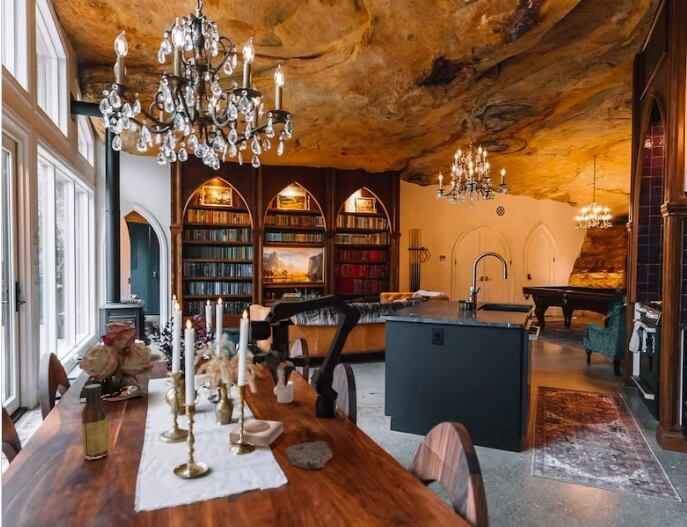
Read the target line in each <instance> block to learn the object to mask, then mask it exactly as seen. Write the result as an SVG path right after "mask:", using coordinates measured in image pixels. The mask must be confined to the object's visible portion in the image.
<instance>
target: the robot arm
mask: <svg viewBox="0 0 687 527" xmlns="http://www.w3.org/2000/svg"><path fill="white" fill-rule="evenodd" d="M327 308H331V309H332V310H333V311H335V312H336V313H337V314H338V318H337V327H336V331H335V333H334V335H333V337H332V340H331V343H330V345H329V348H328V350H327V353H326V355H325V357H324V360H323V362H322V364H321V365H320V367H319V368H318V369H317V368H313V371H312V375H311V376H310V377H309V380H310V387H311V389H312V390H313V391H314V392H316V395H317V397H316V400H315V404H314V405H315V406H314V409H315V417H316V418H317V417H318V418H327V419H328V418H330V419H331V418H335V416H336V415H337V414H338V412H339V410H338V409H337V400H338V397H339V392H337V390H335V389H334V388H333V384H334V378H335V377H334V375H335V374H334V372H335V369H336V367H337V364H338V362H339V359H340V357H341V354H342V352H343V350H344V348H345V346H346V342H347V340H348V338H349V334H350V333H351V332H352V331H353V330H354V329H355V328H356V327H357V325H358V323H359V321H361V317H362V313H361V310H360V309H359V308H358V307H355V306H351V305H349V304H348V303H346V302H344V301H343V300H342V299H341V298H339V297H338V296H337V295H335V294H328V295H325V296H319V297H315V298H308V299H302V300H296V301H295V300H294V301H293V300H292V301H290V300H278V301H274V302H273V303H271V306H270V308H269V309H270V311H269V312H268V314H267V315H266V317H265V318H264V319H262V320H261V319H260V320H258V319H257V320H255V319H253V320H249V326H248V340H249V341H250V342H259V341H268V339H269V338H271V343H270V344H269V350H268V351H267V352H266V353H265V352H258V353H257V354H254V355H253V356H252V359H251V363H253V364H252V365H254V364H256V362H257V363H259V364H260V365H259V366H261V365H262V364H263V363H264V365H263V367H264V368H266V369H267V370H268V371H269V372H270V374H271V377H272V379H273V382H274V384H275V386H276V385H277V383H278V381H279V377H278V376H277V374H278V373H277V368H278V367H280V365H281V364H282V363H283V364H286V365H285V366H283V367H284V370H285V373H284V374H285V376H284V382H285V386H287V384H288V381H290V379H291V376H292V374H293V371H294V370H295V369H294V368H304V367H307V366H308V365H310V362H311V361H310V360H311V357H310V356H309V355H308V354H297V355H295V356H294V357H291V356H292V354H291V352H290V345H291V340H290V327H291V326H295V325H296V323H295V322H294V321H293V320H292V319H291V317H294V316H296V315H298V314H301V313H305V312H311V311H315V310H316V311H317V310H321V309H327Z"/></svg>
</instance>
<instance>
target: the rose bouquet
mask: <svg viewBox="0 0 687 527" xmlns="http://www.w3.org/2000/svg"><path fill="white" fill-rule="evenodd" d="M132 323H133V321H132V320H129V319H126V320H113V321H111V322H110V323H108V324H105V325H103V327H105V329H107V332H108V333H106V334H103V335H101V336H100V338H101V339H102V342H103V344H99V343H98V344H96V345H95V346H93V347H92V348H91V349H90V350H89V351H88V352H87V353H86V354H85V355H84V356H83V357H82V360H80V362H79V365H78V368H79V369H80V370H83V371H84V372H86V374H88V375H89V376H88V378H87V379H86V381H84V384H83V385H84V386H82V387H81V391H80V394H79V400H80V399H81V398H86V393H85V387H86V386H88V385H93V384H100V385H101V396H103V395H106V394H110V395H112V394H114V393H115V392H120V389H122V388H123V387H126V386H136V387H138V388H131V389H129V390H127V391H129V392H131V393H132V394H128V393H125V394H127V395H122V396H118V397H113V396H112V397H113V398H121V399H122V401H125V400H127V399H131V398H134V397H138V396H139V397H142V398H146V397H147V396H148V395H149V393H148V392H147V391H146V390H147V389H148V386H146V387H144V388H143V387H140V385H141V384H140V383H139V380H138V378H137V377H136V376H145V375H148V373H150V372H152V371H154V366H155V365H154V361H150V360H151V358H152V356H151V355H152V349H151V348H150V347H148V346H146V345H145V344H144V343H141V342H136V340H137V337H138V333H137V330H136V326H135V325H131V324H132ZM134 380H135V381H134ZM123 389H124V388H123ZM145 396H146V397H145Z"/></svg>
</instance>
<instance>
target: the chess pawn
mask: <svg viewBox="0 0 687 527" xmlns="http://www.w3.org/2000/svg"><path fill="white" fill-rule="evenodd" d="M284 367H285V366H280V365H279V366H278V368H277V373H278V374H277V376H278V383H277V386H276V385H275V387H273V394H274V395H275V396H277V395H286V394H288V393H289V390H288V389H289V388H288V387H287V386H285V382H284V381H285V370H284Z"/></svg>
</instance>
